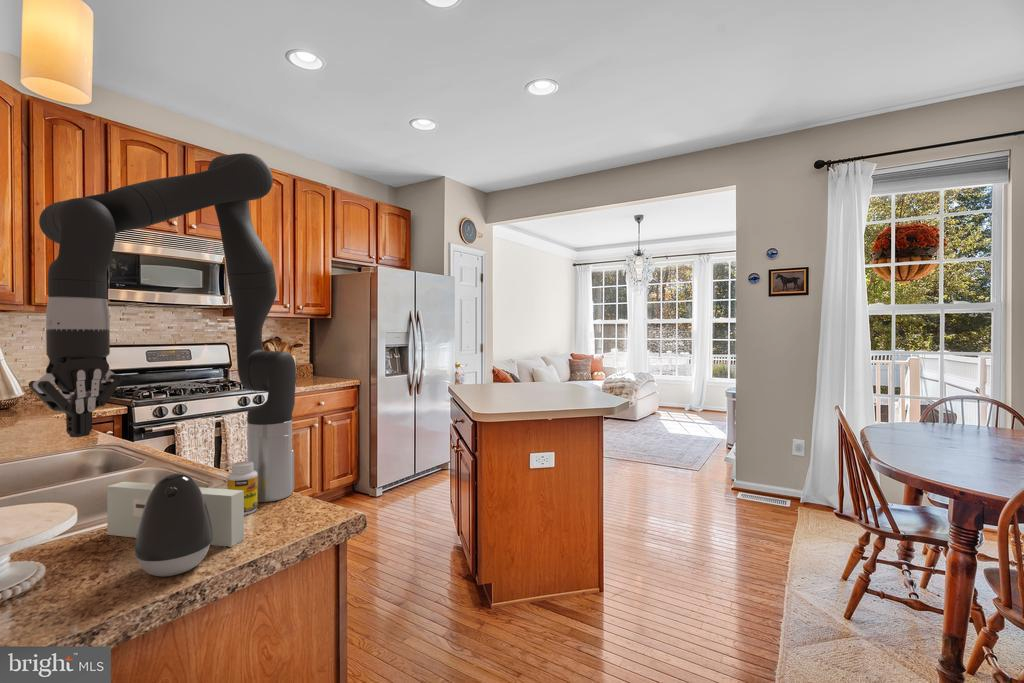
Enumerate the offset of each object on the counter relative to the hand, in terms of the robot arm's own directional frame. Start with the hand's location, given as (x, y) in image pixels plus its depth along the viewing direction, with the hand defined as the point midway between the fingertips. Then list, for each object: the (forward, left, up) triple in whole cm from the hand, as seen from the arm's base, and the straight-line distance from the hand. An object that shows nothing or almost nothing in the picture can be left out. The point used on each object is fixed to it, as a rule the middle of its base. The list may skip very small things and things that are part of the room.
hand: (79, 436), depth 78 cm
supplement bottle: (-26, +8, -21) cm, 34 cm away
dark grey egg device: (-2, +15, -21) cm, 26 cm away
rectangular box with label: (-12, +5, -21) cm, 25 cm away
